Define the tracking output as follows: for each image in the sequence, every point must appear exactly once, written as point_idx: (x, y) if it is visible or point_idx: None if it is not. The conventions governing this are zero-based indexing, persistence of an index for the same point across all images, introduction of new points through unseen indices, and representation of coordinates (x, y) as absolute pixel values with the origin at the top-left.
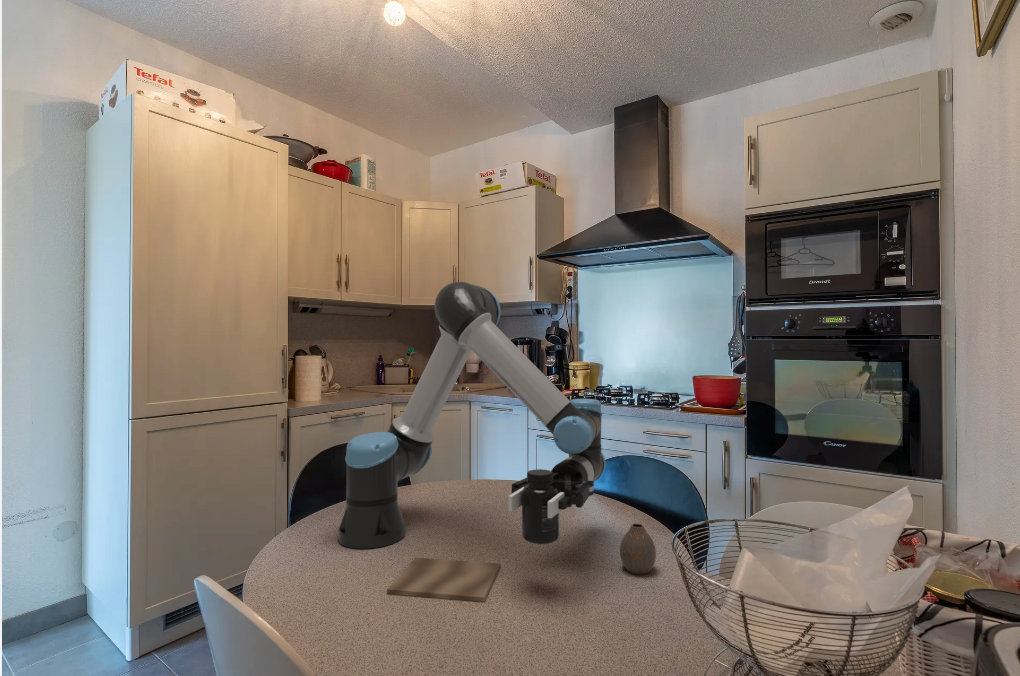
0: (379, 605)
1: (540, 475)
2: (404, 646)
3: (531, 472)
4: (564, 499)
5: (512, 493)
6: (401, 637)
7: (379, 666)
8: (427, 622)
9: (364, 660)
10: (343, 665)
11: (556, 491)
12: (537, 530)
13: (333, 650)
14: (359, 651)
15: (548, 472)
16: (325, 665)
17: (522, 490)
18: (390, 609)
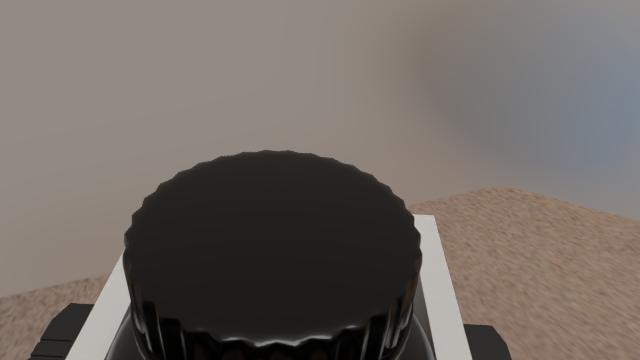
0: (620, 322)
1: (241, 154)
2: (442, 238)
3: (358, 198)
4: (56, 350)
5: (495, 339)
6: (468, 253)
7: (434, 201)
8: (468, 301)
9: (464, 204)
10: (479, 192)
11: (116, 337)
12: None
13: (525, 208)
14: (491, 214)
15: (178, 233)
16: (499, 187)
17: (420, 322)
18: (582, 317)
